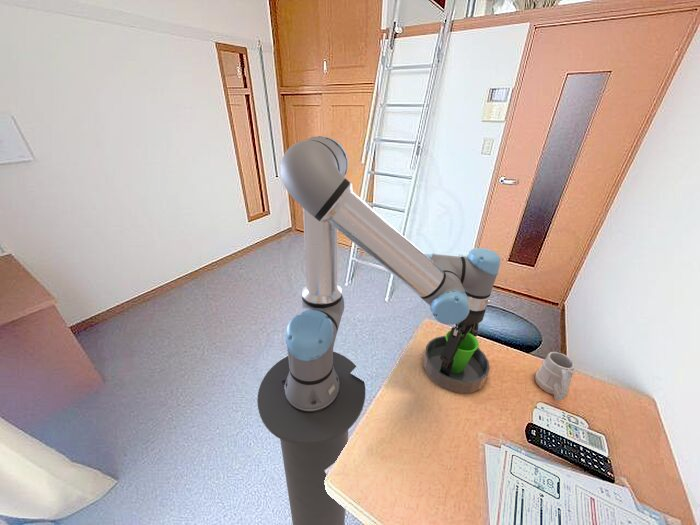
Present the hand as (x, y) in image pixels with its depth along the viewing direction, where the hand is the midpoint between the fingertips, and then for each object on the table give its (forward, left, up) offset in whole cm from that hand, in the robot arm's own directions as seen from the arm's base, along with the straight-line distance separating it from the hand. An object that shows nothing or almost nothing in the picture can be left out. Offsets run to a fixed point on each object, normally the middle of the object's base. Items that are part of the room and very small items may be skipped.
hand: (454, 361), depth 87 cm
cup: (0, 0, -2) cm, 2 cm away
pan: (0, 0, -2) cm, 2 cm away
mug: (+25, +9, -3) cm, 27 cm away
